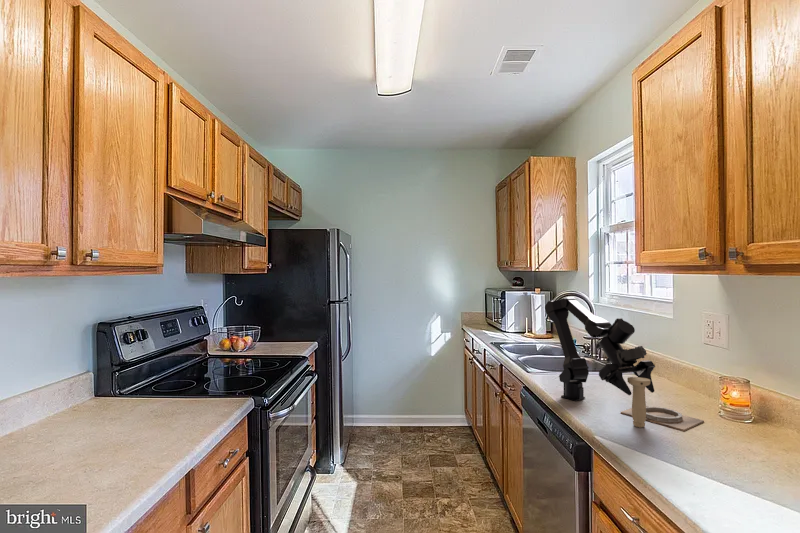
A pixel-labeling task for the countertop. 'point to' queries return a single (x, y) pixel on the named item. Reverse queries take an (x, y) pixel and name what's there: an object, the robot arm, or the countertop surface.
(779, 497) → the countertop surface
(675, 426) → the socket board
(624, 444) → the countertop surface
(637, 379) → the handle
